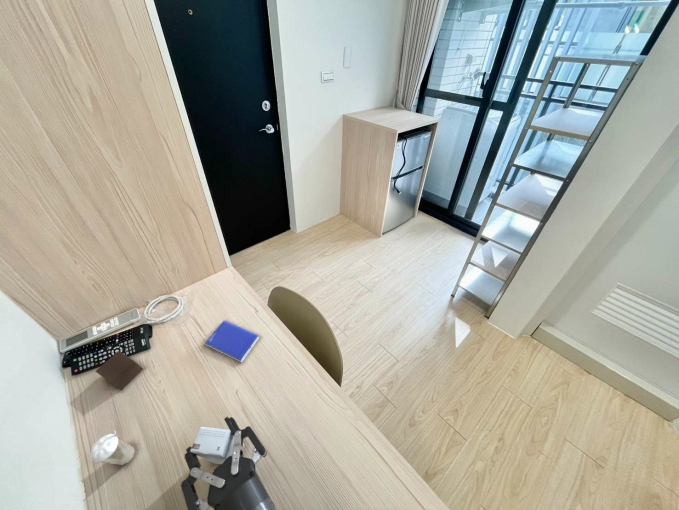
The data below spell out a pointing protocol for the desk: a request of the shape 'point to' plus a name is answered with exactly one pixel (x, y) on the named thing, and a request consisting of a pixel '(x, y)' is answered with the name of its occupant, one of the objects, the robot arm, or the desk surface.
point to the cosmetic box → (213, 444)
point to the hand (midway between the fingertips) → (208, 433)
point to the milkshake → (111, 450)
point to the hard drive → (232, 341)
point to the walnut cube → (119, 370)
